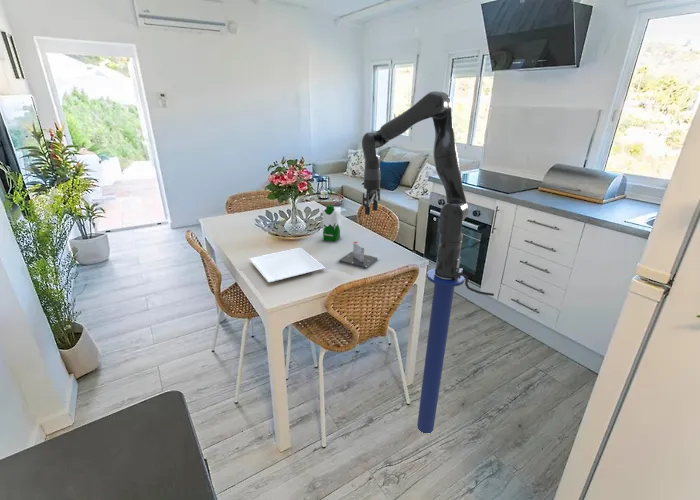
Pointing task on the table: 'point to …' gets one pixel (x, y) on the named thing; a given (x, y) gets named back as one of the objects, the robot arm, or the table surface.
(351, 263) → the panel
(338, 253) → the table surface
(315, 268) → the plate
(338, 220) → the milk carton
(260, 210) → the table surface
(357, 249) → the grey rectangular block
